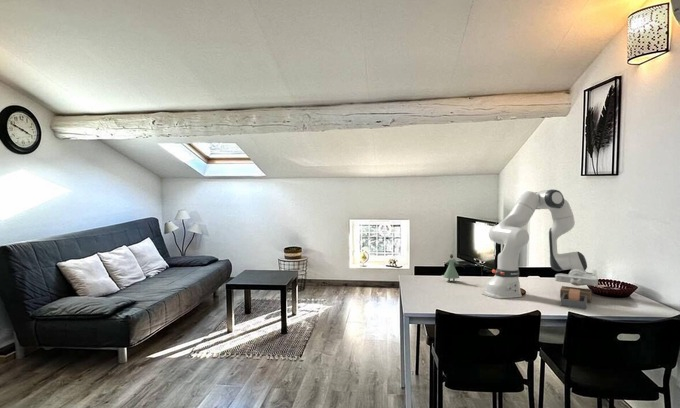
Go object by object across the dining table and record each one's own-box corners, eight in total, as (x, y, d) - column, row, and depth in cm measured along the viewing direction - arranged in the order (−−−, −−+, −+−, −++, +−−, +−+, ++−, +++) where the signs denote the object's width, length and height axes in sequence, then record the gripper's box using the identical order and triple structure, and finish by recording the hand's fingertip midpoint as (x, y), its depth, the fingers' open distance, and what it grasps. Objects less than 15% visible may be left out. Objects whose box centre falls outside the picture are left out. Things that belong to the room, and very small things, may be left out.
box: (563, 299, 212) (563, 292, 212) (587, 302, 205) (587, 295, 205) (560, 305, 199) (560, 298, 199) (585, 309, 193) (585, 302, 193)
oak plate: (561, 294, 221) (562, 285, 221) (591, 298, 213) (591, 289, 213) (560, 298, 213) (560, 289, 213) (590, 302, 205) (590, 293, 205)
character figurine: (464, 280, 257) (464, 253, 256) (466, 283, 249) (466, 255, 248) (439, 279, 259) (439, 252, 259) (440, 282, 251) (441, 254, 251)
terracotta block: (570, 288, 208) (568, 292, 200) (580, 289, 205) (578, 293, 197) (570, 299, 208) (568, 304, 200) (579, 301, 206) (578, 305, 197)
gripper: (556, 269, 226) (553, 273, 214) (598, 274, 214) (597, 278, 203) (556, 280, 226) (553, 285, 215) (598, 285, 214) (597, 290, 203)
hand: (575, 282), depth 209 cm, fingers closed
